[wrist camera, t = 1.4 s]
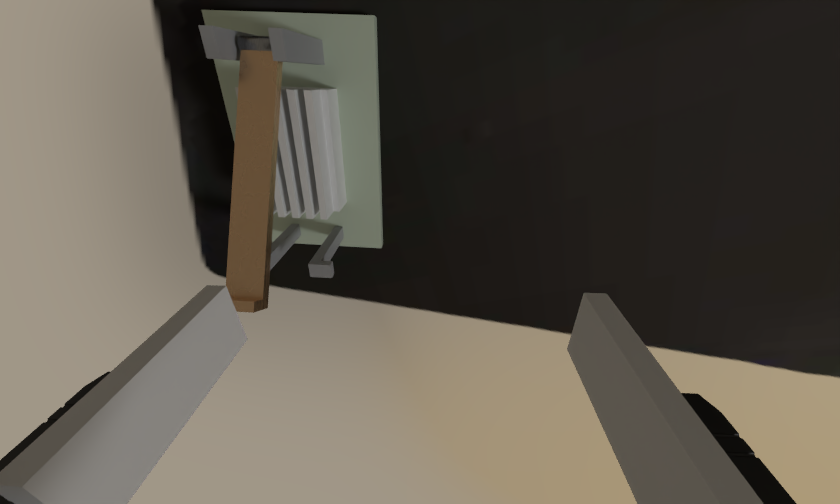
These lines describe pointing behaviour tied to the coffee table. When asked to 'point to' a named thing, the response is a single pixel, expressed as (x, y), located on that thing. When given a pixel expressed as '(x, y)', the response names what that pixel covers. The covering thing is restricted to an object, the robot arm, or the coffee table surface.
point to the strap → (254, 174)
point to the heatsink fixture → (314, 124)
